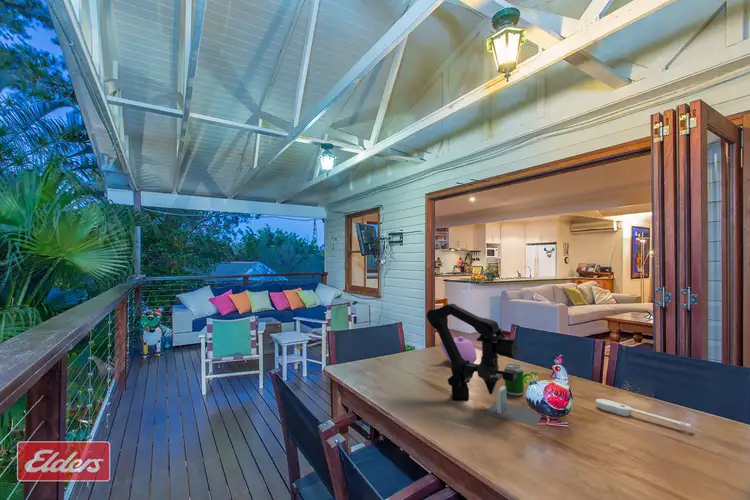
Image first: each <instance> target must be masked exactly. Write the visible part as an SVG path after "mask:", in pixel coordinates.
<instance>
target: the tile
mask: <svg viewBox="0 0 750 500" xmlns="http://www.w3.org/2000/svg"><path fill="white" fill-rule="evenodd" d="M507 394H508V393H507V392H506V386H505V385H502V386H500V387H499V388H498V389H497V390H496V401H497V413H500V414H501V413H502V412H503V411H504V410H505V408H506V407H507V404H508V401H507Z"/></svg>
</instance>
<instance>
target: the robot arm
mask: <svg viewBox="0 0 750 500" xmlns="http://www.w3.org/2000/svg"><path fill="white" fill-rule="evenodd" d="M426 313H427V314H426V319H427V321H428V322H429V324H430V326H431V327H432V328H433V329H435V330H436V331H437V333H438V336H439V338H440V340H441V343H443V345H444V347H445V349H446V352H447V354H448V356H449V358H450V361H451V363H450V365H451V366H450V367H451V368H450V371H451V376H449V378H447V383H448V385H449V386H450V387H451V388H450V389H451V390H450V391H451V394H450V397H451V401H455V402H468V401H469V398H470V389H469V386H468V383H470V382H471V379H473V376H474V373H476V372H477V377H479V379H482V380H483V381H484V383H485V386H486V388H487V391H488V394H489V395H493V393H494V391H495V388H496V385H497V383H498V381H500V379H503V380H504V381H505V380H507V381H514V380H515V379H516V378H517V372H516V371H515V370H511V369H505V368H504V370H499V368H500V366H499V363H498V362H499V361H498V359H499V356H501V357H506V358H511V359H517V357H518V355H519V346H518V343H517V342H516V339H515V338H506V336H505V335H504V333H503V332H502V330H501V329H500V328H499V327H500V326H499V323H498V322H497V321H495V320H492V319H489V318H486V317H480V316H478V315H476V314H474V313H472V312H470V311H468V310H466V309H464V308H462V307H460V306H458V305H457V304H455V303H449V304H448V303H447V304H446V305H444V306H441V307H437V308H432V309H429V310H427V312H426ZM450 315H451V316H452V317H454V318H456V319H458V320H460V321H462V322H464V323H465V324H467V325H469V326H471V327H473V329H474V330H475V331H476V332H477V333H478V334H479V337H477V338H476V341H477V342H481V358H480V363H479V364H478V363H475V362H474V363H470V362H469V360H467V361H465V360H464V359H463V358H462V357H461V355H460V352H459V350H458V348H457V346H456V344H455V342H454V339H453V338H454V337H453V336H452V333H451V331H450V329H449V326H448V316H450ZM450 361H449V362H450Z"/></svg>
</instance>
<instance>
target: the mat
mask: <svg viewBox="0 0 750 500" xmlns="http://www.w3.org/2000/svg"><path fill="white" fill-rule="evenodd" d="M532 409H533V408H529V407H524V406H519V405H517V404H516V405H515V404H511V403H507V407H506V408H505V410H504V411H503V412H502V413H501V414H500V413H497V400H495V402H494V403H492V404H491V406H489V408H488V409H487V410H485V412H484V414H485V415H488V416H493V417H496V418H497V417H498V418H501V419H504V420H509V421H513V422H517V423H521V424H525V425H528V426H529V425H530V426H532V427H536V426H537V425H538V424H539V422H540V420H541V418H542V416H543V415H542V416H541V415H539V414H537V413H536V412H535V411H533V410H532Z"/></svg>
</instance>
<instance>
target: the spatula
mask: <svg viewBox="0 0 750 500" xmlns="http://www.w3.org/2000/svg"><path fill="white" fill-rule="evenodd" d="M595 405H596V407H597V408H599V409H600V410H603V411H606V412H609V413H614V414H616V415H619V416H622V417H630V416H631V415H632V412H635V413H639V414H641V415H646V416H650V417H653V418H657V419H660V420H664V421H665V422H670V423H673V424H676V425H679V426H682V427H685V428H691V427H692V424H690V423H688V422H685V421H678V420H676V419H673V418H668V417H665V416H660V415H658V414H654V413H650V412H647V411H643V410H640V409H636V408H633V407H631V406H629V405H627V404H625V403H620V402H616V401H614V400H609V399H605V398H597V399H595Z"/></svg>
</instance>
